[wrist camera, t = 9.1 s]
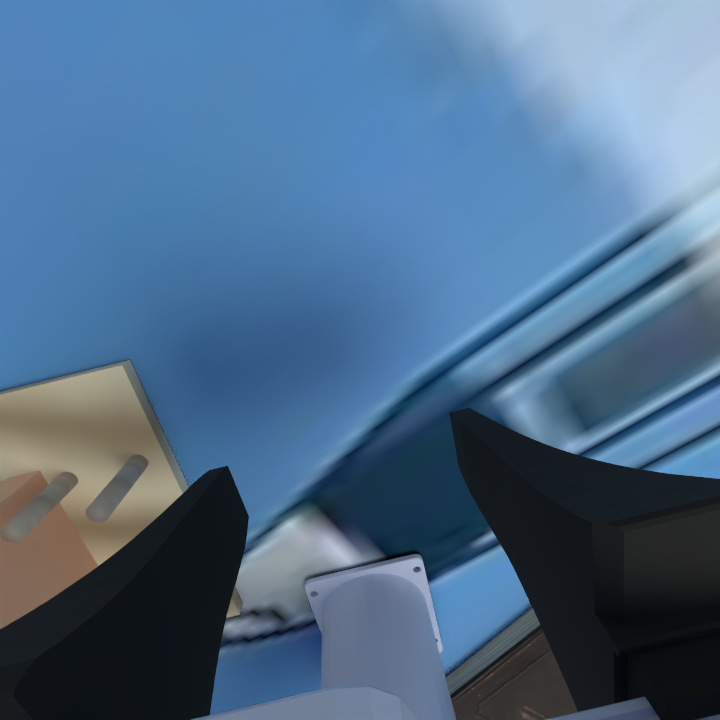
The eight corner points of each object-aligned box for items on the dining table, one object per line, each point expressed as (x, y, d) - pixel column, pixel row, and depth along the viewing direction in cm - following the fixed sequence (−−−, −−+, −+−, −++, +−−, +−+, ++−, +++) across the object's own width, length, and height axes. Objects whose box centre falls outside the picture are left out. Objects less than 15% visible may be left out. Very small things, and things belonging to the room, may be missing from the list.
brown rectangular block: (112, 589, 24) (30, 727, 17) (84, 596, 24) (-9, 736, 17) (39, 470, 21) (-94, 582, 14) (7, 478, 21) (-140, 593, 14)
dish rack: (242, 603, 26) (224, 682, 22) (28, 654, 26) (-35, 743, 22) (129, 359, 20) (71, 398, 16) (-148, 427, 20) (-285, 485, 16)
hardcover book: (589, 775, 37) (605, 809, 35) (419, 685, 31) (426, 719, 29) (731, 683, 34) (758, 714, 32) (572, 562, 28) (592, 590, 26)
